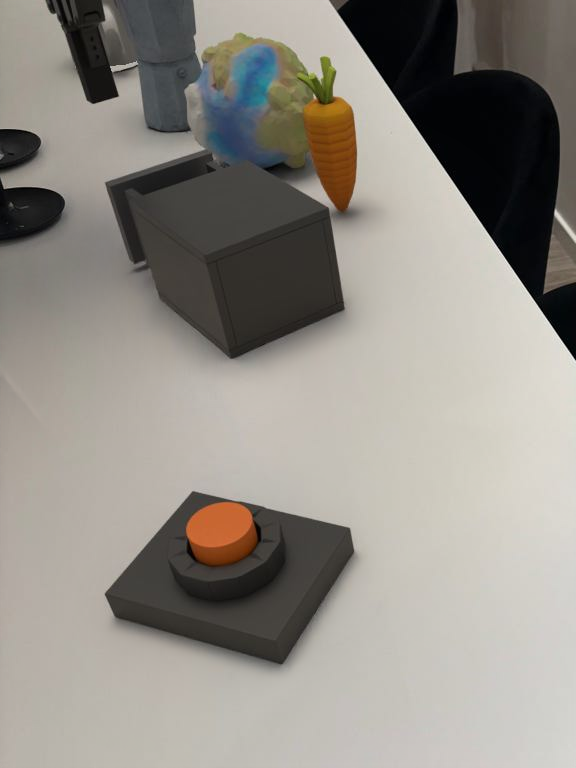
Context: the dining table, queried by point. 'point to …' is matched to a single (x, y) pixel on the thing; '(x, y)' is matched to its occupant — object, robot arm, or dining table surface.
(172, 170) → the dark grey drawer
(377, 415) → the dining table surface
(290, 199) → the dark grey panelled cube
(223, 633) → the control pad
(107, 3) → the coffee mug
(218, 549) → the button
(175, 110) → the moka pot
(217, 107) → the decorative rock
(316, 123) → the carrot
